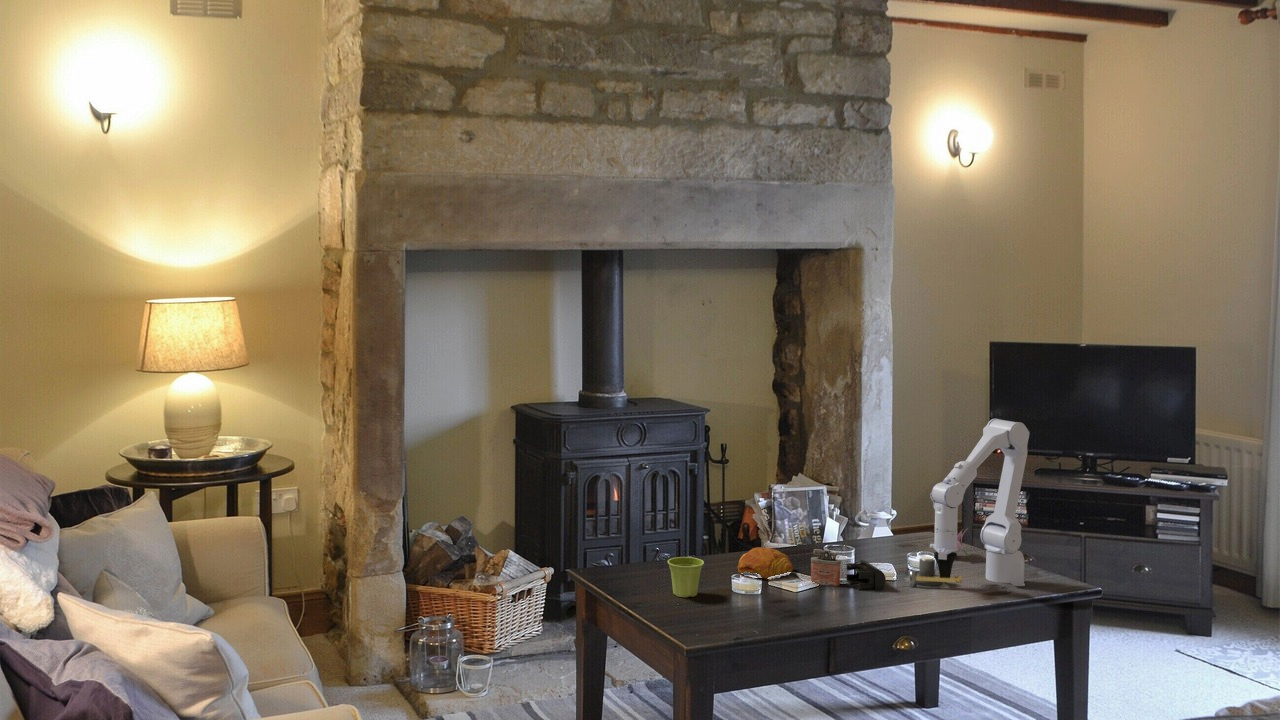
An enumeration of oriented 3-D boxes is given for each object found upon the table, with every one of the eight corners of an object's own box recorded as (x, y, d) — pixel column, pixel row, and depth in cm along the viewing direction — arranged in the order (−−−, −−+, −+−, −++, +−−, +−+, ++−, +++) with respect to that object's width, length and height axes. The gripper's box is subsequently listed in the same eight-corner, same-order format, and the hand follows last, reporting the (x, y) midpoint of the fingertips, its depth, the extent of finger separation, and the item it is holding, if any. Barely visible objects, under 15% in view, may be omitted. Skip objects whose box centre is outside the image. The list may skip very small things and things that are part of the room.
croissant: (758, 571, 321) (756, 543, 321) (801, 574, 310) (799, 545, 310) (725, 579, 311) (722, 550, 311) (768, 583, 300) (766, 553, 300)
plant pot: (707, 591, 293) (708, 558, 292) (697, 601, 284) (698, 567, 283) (673, 588, 296) (673, 555, 295) (662, 597, 287) (662, 564, 286)
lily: (963, 556, 336) (948, 527, 337) (992, 548, 327) (976, 519, 327) (939, 574, 330) (923, 544, 330) (968, 567, 320) (951, 537, 321)
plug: (935, 578, 303) (936, 554, 302) (946, 586, 295) (947, 561, 294) (907, 578, 302) (907, 554, 301) (917, 586, 294) (918, 562, 293)
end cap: (885, 594, 291) (886, 568, 291) (860, 595, 290) (860, 570, 289) (870, 584, 301) (871, 559, 301) (845, 585, 300) (846, 560, 299)
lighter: (841, 587, 297) (842, 550, 297) (838, 590, 294) (839, 553, 294) (812, 583, 301) (813, 546, 300) (808, 586, 298) (809, 549, 297)
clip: (961, 588, 293) (961, 573, 293) (962, 589, 291) (962, 574, 291) (909, 585, 295) (909, 570, 295) (909, 587, 294) (910, 572, 293)
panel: (952, 581, 304) (952, 576, 304) (971, 594, 291) (971, 590, 291) (894, 582, 303) (894, 577, 302) (911, 596, 290) (911, 591, 290)
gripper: (933, 522, 301) (932, 571, 302) (926, 533, 288) (925, 585, 289) (960, 524, 298) (959, 574, 300) (955, 536, 285) (954, 588, 286)
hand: (944, 580), depth 294 cm, fingers closed, pressing on clip
